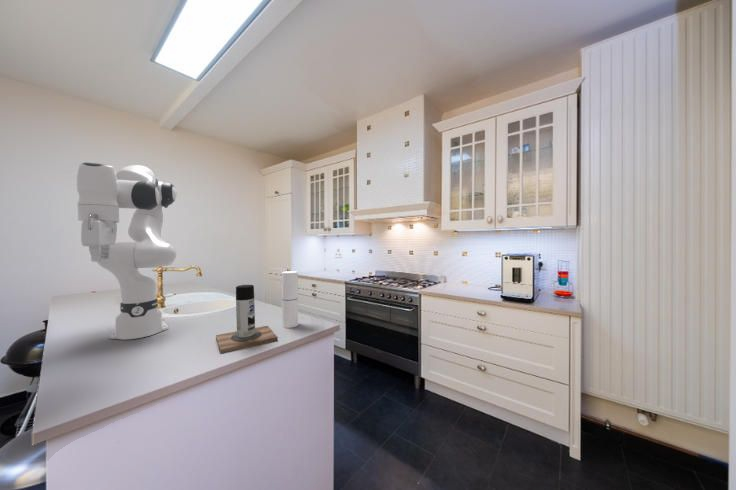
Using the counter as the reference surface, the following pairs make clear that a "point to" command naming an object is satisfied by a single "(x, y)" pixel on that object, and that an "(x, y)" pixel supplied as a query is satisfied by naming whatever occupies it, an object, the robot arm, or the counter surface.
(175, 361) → the counter surface
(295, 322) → the cylindrical container
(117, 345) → the counter surface
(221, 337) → the board
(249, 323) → the spray can
